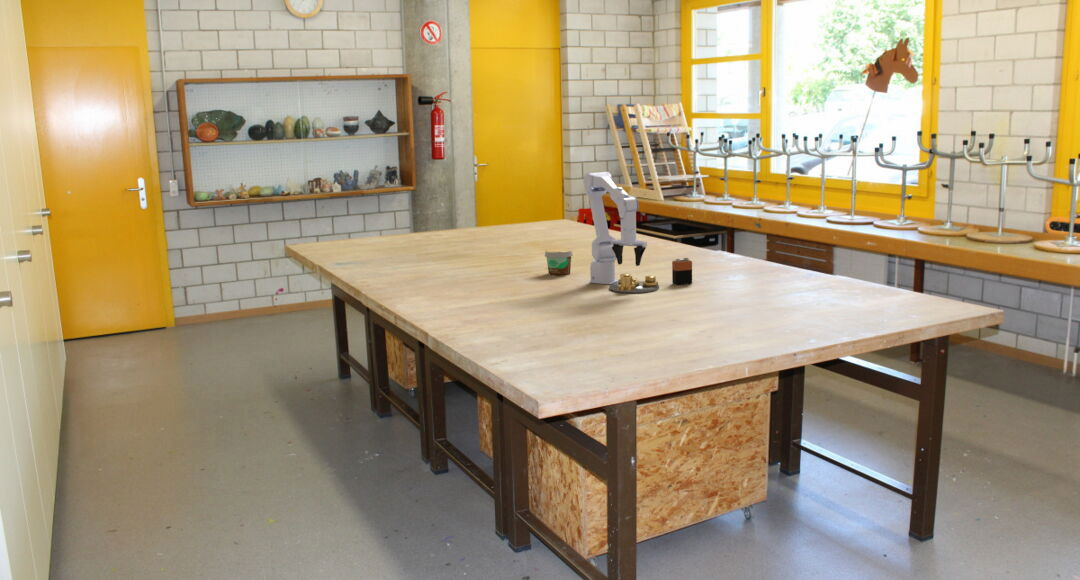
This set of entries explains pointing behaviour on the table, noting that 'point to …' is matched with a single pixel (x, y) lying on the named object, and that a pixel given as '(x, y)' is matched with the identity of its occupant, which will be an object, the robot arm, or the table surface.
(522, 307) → the table surface
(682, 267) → the battery
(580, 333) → the table surface
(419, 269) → the table surface
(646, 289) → the carrier
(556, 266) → the food container
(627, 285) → the planet gear
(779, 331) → the table surface
